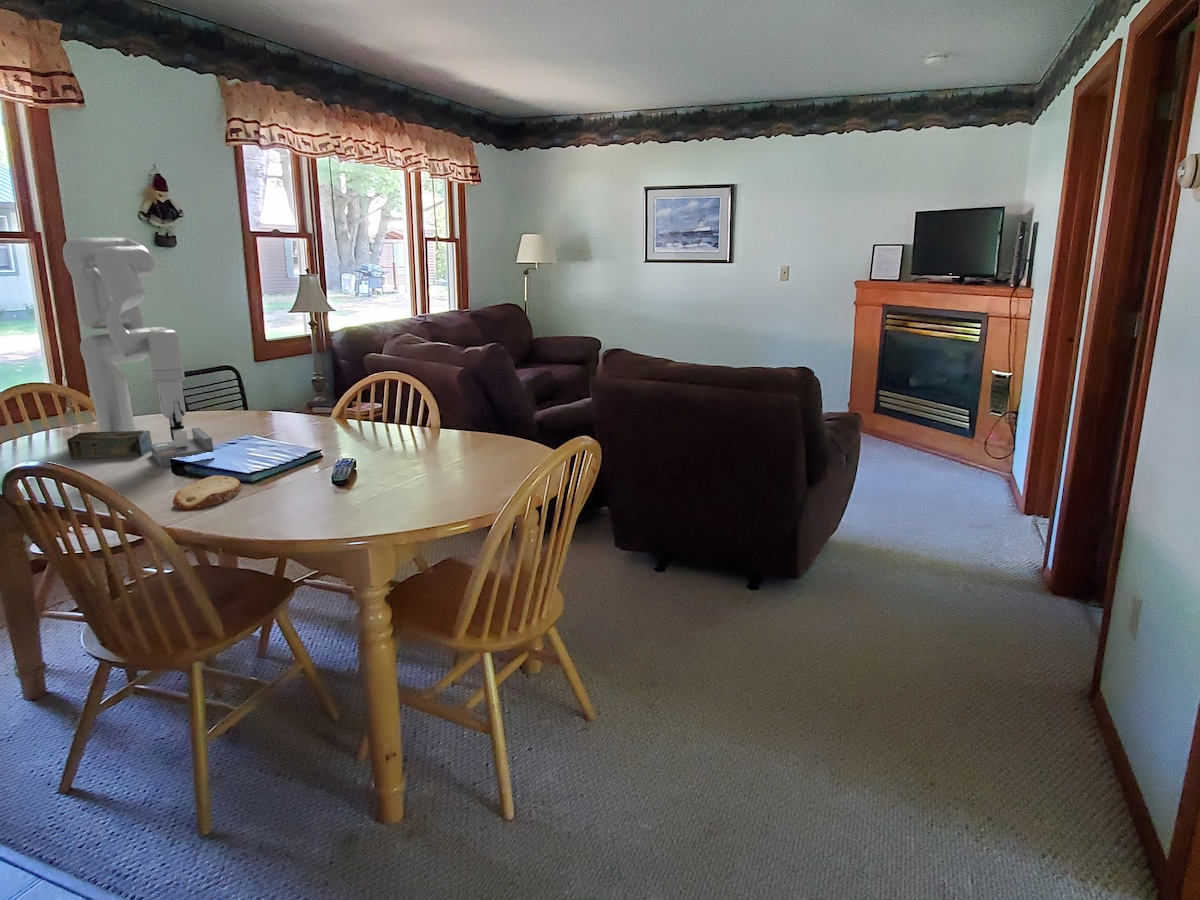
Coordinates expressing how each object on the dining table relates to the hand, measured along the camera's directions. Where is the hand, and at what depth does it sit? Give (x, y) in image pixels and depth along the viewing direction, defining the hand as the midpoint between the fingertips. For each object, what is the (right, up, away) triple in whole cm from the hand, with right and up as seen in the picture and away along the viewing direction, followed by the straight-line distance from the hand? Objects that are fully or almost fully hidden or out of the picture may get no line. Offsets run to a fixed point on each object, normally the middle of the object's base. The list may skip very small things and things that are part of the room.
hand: (178, 439), depth 220 cm
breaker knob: (+2, -2, -2) cm, 4 cm away
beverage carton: (-20, -5, +3) cm, 21 cm away
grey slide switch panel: (+2, -5, -1) cm, 5 cm away
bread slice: (+25, -14, -34) cm, 45 cm away
